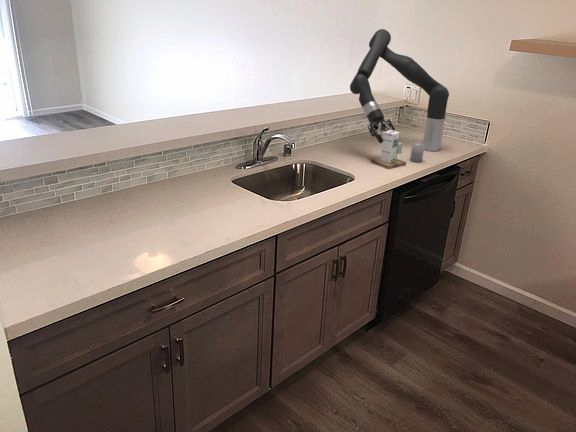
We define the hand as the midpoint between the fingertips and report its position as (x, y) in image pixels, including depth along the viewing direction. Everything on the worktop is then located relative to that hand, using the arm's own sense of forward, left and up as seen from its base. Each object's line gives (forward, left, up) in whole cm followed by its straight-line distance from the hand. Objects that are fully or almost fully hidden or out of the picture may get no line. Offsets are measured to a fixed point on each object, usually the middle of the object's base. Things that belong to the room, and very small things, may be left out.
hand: (387, 140), depth 231 cm
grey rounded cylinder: (-16, +6, -11) cm, 20 cm away
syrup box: (0, +2, -10) cm, 10 cm away
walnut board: (0, +2, -11) cm, 11 cm away
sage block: (-18, -10, -11) cm, 23 cm away
